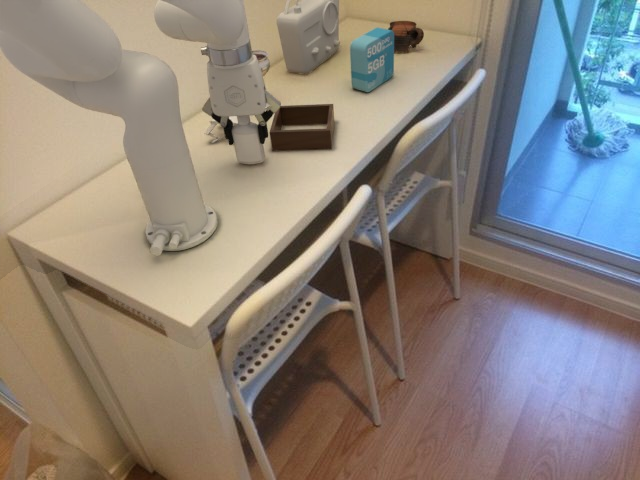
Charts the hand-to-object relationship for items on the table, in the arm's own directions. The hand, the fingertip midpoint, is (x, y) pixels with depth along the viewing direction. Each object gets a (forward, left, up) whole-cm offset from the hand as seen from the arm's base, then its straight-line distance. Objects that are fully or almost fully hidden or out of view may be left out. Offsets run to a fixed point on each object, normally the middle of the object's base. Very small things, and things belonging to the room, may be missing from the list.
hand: (247, 140), depth 106 cm
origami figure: (+10, +7, -5) cm, 13 cm away
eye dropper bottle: (0, 0, -5) cm, 5 cm away
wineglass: (+26, +2, -5) cm, 27 cm away
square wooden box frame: (+10, -10, -5) cm, 15 cm away
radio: (+50, -9, -5) cm, 51 cm away
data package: (+35, -25, -5) cm, 43 cm away
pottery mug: (+57, -34, -5) cm, 66 cm away
